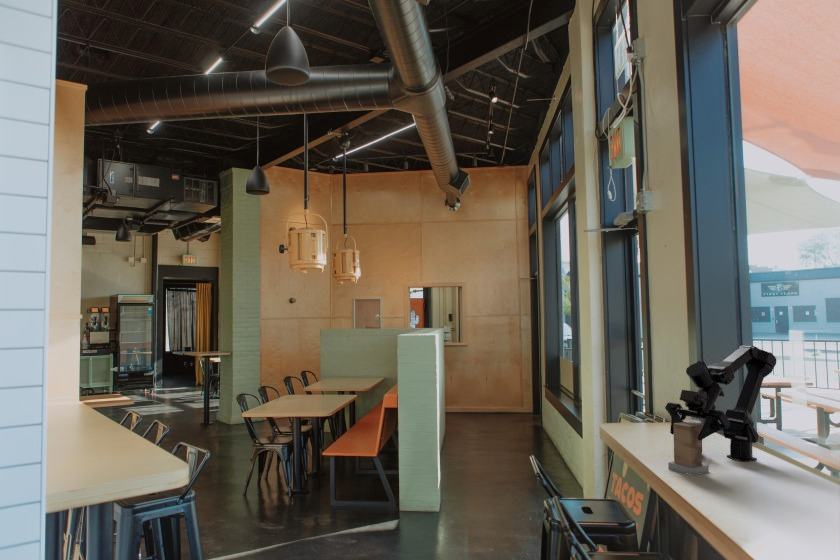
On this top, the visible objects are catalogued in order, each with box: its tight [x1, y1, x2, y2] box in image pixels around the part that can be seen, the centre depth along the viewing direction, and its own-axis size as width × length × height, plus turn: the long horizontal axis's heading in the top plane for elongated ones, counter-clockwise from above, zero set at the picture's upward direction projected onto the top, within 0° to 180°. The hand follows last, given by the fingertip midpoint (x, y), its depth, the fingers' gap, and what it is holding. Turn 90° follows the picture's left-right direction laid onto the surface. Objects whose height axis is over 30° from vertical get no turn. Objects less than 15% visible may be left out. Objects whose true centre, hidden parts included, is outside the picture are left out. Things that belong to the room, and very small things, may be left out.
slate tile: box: [667, 460, 710, 476], centre depth 167 cm, size 8×8×2 cm
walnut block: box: [673, 422, 703, 467], centre depth 168 cm, size 6×6×12 cm
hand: (684, 436), depth 167 cm, fingers open, 9 cm apart
